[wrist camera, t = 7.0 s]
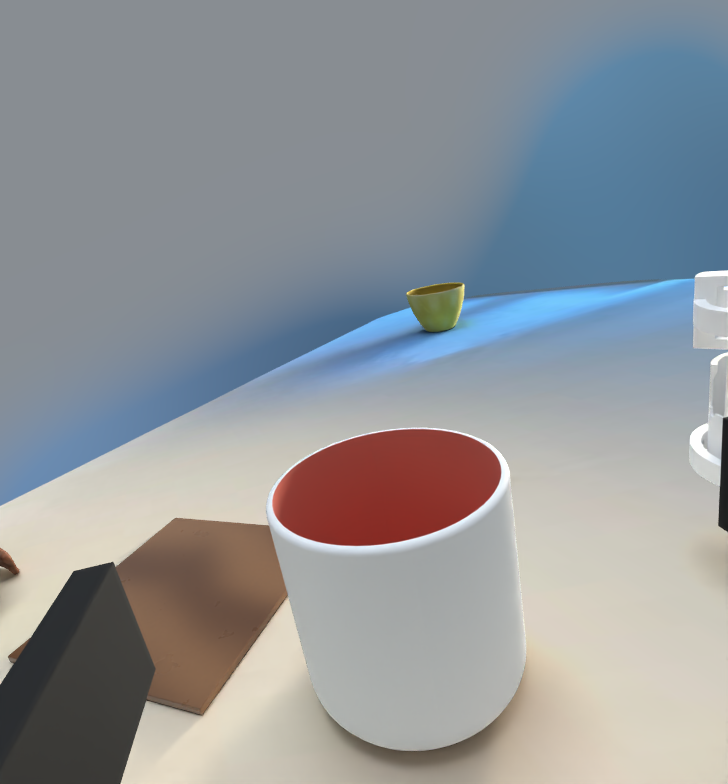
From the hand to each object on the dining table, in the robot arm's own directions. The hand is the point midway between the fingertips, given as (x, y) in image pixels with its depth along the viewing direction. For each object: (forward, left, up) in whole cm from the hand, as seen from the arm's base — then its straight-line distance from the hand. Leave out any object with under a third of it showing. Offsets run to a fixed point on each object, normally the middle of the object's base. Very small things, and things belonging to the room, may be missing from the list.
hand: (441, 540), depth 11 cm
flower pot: (+78, +21, -14) cm, 82 cm away
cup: (+8, +5, -14) cm, 17 cm away
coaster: (+10, +21, -13) cm, 27 cm away
